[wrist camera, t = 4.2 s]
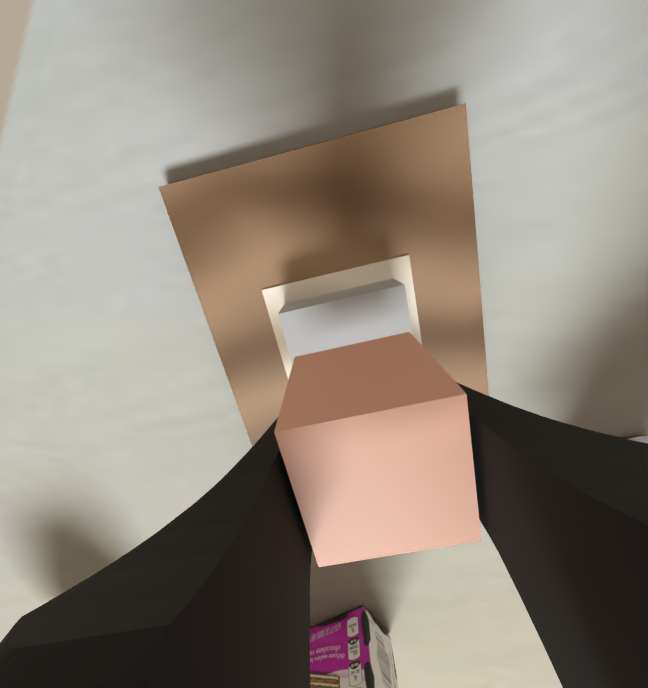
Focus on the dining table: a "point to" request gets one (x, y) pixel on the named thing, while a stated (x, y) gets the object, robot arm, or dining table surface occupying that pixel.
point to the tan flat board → (336, 247)
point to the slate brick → (345, 317)
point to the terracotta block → (378, 451)
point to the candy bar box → (351, 653)
